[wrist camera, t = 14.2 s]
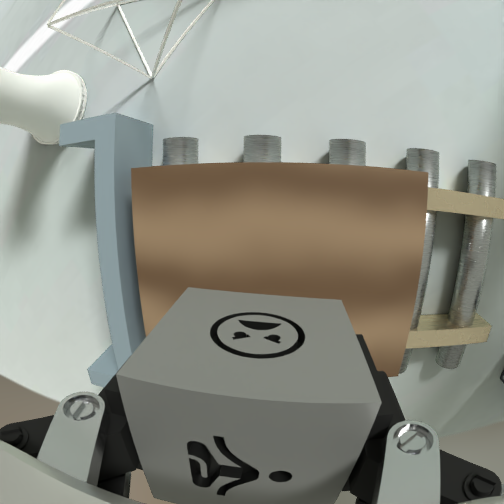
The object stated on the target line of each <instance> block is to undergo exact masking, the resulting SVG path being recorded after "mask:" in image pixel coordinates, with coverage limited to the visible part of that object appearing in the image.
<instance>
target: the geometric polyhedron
mask: <svg viewBox="0 0 504 504" xmlns="http://www.w3.org/2000/svg"><path fill="white" fill-rule="evenodd" d="M119 1H123V0H113V1H109V2H106V3H103V4H99V5H96V6H93V7H90V8H87V9H84V10H81V11H78V12H76V13H73V14H70V15H68V16H65V17H63V18H60V19H58V20H55V21H53V22H51V20H52V19H53V17H54V16H55V14H56V13H57V11H58V10H59V9H60V7H61V6H62V4H63V3H64V2H65V0H63V1H62V2H61V4H60V5H59V6H58V8H57V9H56V11H55V12H54V13H53V15H52V16H51V18H50V19H49V21H48V22H47V25H48V28H51V29H53V30H55V31H58V32H60V33H62V34H64V35H67V36H69V37H71V38H73V39H75V40H77V41H80V42H82V43H84V44H86V45H88V46H90V47H92V48H94V49H96V50H98V51H100V52H102V53H104V54H106V55H108V56H110V57H112V58H114V59H116V60H117V61H119V62H121V63H123V64H125V65H127V66H129V67H131V68H132V69H134V70H136V71H138V72H140V73H141V74H143V75H145V76H147V77H149V78H154V77H155V76H156V75H157V73H158V72H159V70H160V69H161V67H162V66H163V64H164V63H165V62H166V60H167V59H168V58H169V56H170V55H171V53H172V52H173V51H174V49H175V48H176V47H177V45H178V44H179V43H180V41H181V40H182V39H183V38H184V36H185V35H186V34H187V33H188V31H189V30H190V29H191V28H192V26H193V25H194V24H195V23H196V21H197V20H198V19H199V18H200V17H201V16H202V14H203V13H204V12H205V11H206V10H207V9H208V7H209V6H210V5H211V4H212V3H213V2H214V1H215V0H211V1H210V2H209V3H208V5H207V6H206V7H205V8H204V9H203V10H202V11H201V13H200V14H199V15H198V16H197V17H196V18H195V20H194V21H193V22H192V23H191V25H190V26H189V27H188V28H187V29H186V31H185V32H184V33H183V34H182V36H181V37H180V38H179V40H178V41H177V42H176V44H175V45H174V46H173V47H172V49H171V50H170V52H169V53H168V54H167V56H166V57H165V58H164V60H163V61H162V63H161V64H160V65H159V67H158V64H159V61H160V58H161V55H162V52H163V49H164V46H165V43H166V40H167V38H168V35H169V32H170V30H171V27H172V24H173V22H174V19H175V17H176V14H177V12H178V9H179V7H180V5H181V2H182V0H178V1H177V3H176V6H175V8H174V11H173V14H172V16H171V19H170V21H169V24H168V27H167V30H166V32H165V35H164V38H163V41H162V44H161V47H160V50H159V53H158V56H157V59H156V62H155V66H154V69H153V72H152V73H151V71H150V69H149V67H148V65H147V63H146V61H145V58H144V56H143V54H142V52H141V50H140V48H139V46H138V44H137V42H136V39H135V37H134V35H133V33H132V31H131V29H130V27H129V24H128V22H127V20H126V18H125V16H124V14H123V12H122V9H121V7H120V5H121V4H125V3H129V2H133V1H137V0H130V1H126V2H122V3H119ZM115 2H117V3H116V4H114V5H109V6H105V5H108V4H112V3H115ZM101 6H105V7H101ZM113 6H117V7H118V9H119V11H120V13H121V16H122V18H123V20H124V22H125V24H126V27H127V29H128V31H129V33H130V35H131V37H132V40H133V42H134V44H135V46H136V48H137V50H138V52H139V55H140V57H141V59H142V61H143V63H144V65H145V67H146V69H147V72H148V74H149V75H148V74H146V73H144V72H143V71H141V70H139V69H137V68H136V67H134V66H132V65H130V64H128V63H126V62H125V61H123V60H121V59H119V58H117V57H115V56H113V55H111V54H110V53H108V52H106V51H104V50H102V49H100V48H98V47H96V46H94V45H92V44H90V43H88V42H86V41H84V40H81V39H79V38H77V37H75V36H73V35H71V34H69V33H67V32H64V31H62V30H60V29H58V28H55V27H53V26H51V25H52V24H55V23H58V22H61V21H64V20H66V19H70V18H73V17H76V16H79V15H82V14H86V13H89V12H93V11H97V10H100V9H104V8H108V7H113ZM98 7H101V8H98ZM95 8H97V9H95ZM92 9H93V10H92ZM157 67H158V68H157Z"/></svg>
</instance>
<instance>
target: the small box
mask: <svg viewBox="0 0 504 504" xmlns="http://www.w3.org/2000/svg"><path fill="white" fill-rule="evenodd" d="M500 379H501V380H502V382H503V383H504V370H503V372H502V375H501V377H500Z"/></svg>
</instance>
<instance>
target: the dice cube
mask: <svg viewBox="0 0 504 504" xmlns="http://www.w3.org/2000/svg"><path fill="white" fill-rule="evenodd" d="M116 377H117V381H118V386H119V390H120V394H121V398H122V402H123V406H124V410H125V413H126V417H127V421H128V424H129V428H130V431H131V434H132V438H133V441H134V444H135V447H136V450H137V453H138V456H139V459H140V462H141V465H142V468H143V471H144V474H145V476H146V479H147V482H148V484H149V487H150V489H151V492H152V494H153V497H154V498H157V499H160V500H164V501H168V502H172V503H176V504H334V503H335V501H336V500H337V498H338V496H339V494H340V492H341V490H342V489H343V487H344V485H345V483H346V481H347V479H348V477H349V475H350V473H351V471H352V469H353V467H354V465H355V463H356V461H357V459H358V457H359V455H360V453H361V451H362V448H363V446H364V444H365V442H366V439H367V437H368V435H369V433H370V430H371V428H372V425H373V423H374V421H375V418H376V416H377V413H378V411H379V408H380V405H381V403H382V402H381V399H380V396H379V394H378V391H377V388H376V385H375V383H374V380H373V377H372V375H371V372H370V370H369V367H368V364H367V362H366V359H365V357H364V354H363V351H362V349H361V346H360V344H359V341H358V339H357V336H356V334H355V331H354V329H353V327H352V324H351V322H350V319H349V317H348V314H347V312H346V310H345V307H344V305H343V303H342V300H336V299H320V298H305V297H291V296H278V295H265V294H253V293H242V292H231V291H220V290H210V289H200V288H191V287H188V288H187V289H186V290H185V291H184V293H183V294H182V295H181V296H180V297H179V299H178V300H177V301H176V302H175V303H174V305H173V306H172V307H171V308H170V309H169V310H168V312H167V313H166V314H165V315H164V316H163V318H162V319H161V320H160V321H159V322H158V324H157V325H156V326H155V327H154V328H153V330H152V331H151V332H150V333H149V334H148V336H147V337H146V338H145V339H144V341H143V342H142V343H141V344H140V345H139V347H138V348H137V349H136V350H135V351H134V353H133V354H132V355H131V356H130V358H129V359H128V360H127V361H126V362H125V364H124V365H123V366H122V367H121V369H120V370H119V371H118V372H117V374H116Z"/></svg>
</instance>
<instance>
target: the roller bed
mask: <svg viewBox="0 0 504 504" xmlns="http://www.w3.org/2000/svg"><path fill="white" fill-rule="evenodd" d="M365 160H366V142H363V141H359V140H351V139H332V140H330V141H329V164H340V165H356V166H365ZM244 162H281V137H278V136H271V135H249V136H245V137H244ZM182 164H198V139H197V138H191V137H175V138H166V139H163V166H165V165H182ZM406 170H412V171H421V172H428V200H427V216H426V228H425V239H424V248H423V256H422V264H421V271H420V278H419V284H418V290H417V296H416V302H415V307H414V312H413V317H412V322H411V326H410V331H409V335H408V340H407V344H406V348H405V352H404V356H403V360H402V363H401V367H400V371H399V374H400V373H403V372H404V371H405V370H406V368H407V365H408V361H409V358H410V354H411V351H412V348H425V347H439V346H440V347H439V350H438V354H437V357H436V362H437V363H438V364H439V365H440V366H442V367H444V368H448V369H454V368H457V367H458V366H459V364H460V362H461V359H462V356H463V353H464V350H465V347H466V344H471V343H480V342H487V339H488V336H489V333H490V330H491V325H490V324H489V323H488V322H486V321H485V320H484V319H483V318H482V317H481V316H479V315H478V314H477V313H476V310H477V306H478V302H479V298H480V294H481V290H482V285H483V280H484V275H485V270H486V265H487V259H488V253H489V247H490V240H491V232H492V224H493V218H499V219H504V199H500V198H495V186H496V164H494V163H490V162H486V161H478V160H469V161H468V189H467V193H465V192H459V191H452V190H445V189H438V181H439V152H437V151H433V150H428V149H417V148H410V149H407V163H406ZM437 211H443V212H452V213H461V214H466V216H465V226H464V234H463V242H462V249H461V256H460V262H459V268H458V273H457V278H456V284H455V288H454V293H453V298H452V302H451V306H450V311H449V314H438V315H421V311H422V306H423V301H424V296H425V291H426V286H427V281H428V275H429V269H430V263H431V256H432V249H433V241H434V232H435V223H436V212H437Z"/></svg>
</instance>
